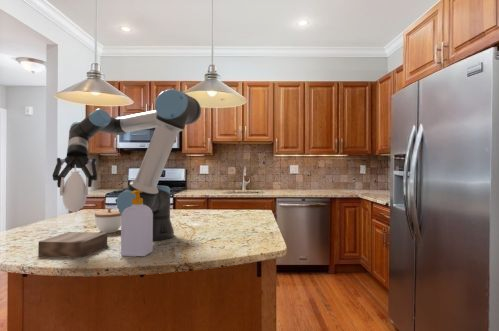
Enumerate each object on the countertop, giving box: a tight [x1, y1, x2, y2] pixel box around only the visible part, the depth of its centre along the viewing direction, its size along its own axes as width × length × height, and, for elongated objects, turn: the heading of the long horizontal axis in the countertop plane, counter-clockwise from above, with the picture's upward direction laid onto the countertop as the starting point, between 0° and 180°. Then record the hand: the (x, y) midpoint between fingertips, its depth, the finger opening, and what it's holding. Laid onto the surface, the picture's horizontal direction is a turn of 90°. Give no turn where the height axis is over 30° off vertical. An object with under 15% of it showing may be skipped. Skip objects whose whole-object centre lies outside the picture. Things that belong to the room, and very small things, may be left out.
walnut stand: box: [37, 231, 108, 258], centre depth 112 cm, size 16×16×5 cm
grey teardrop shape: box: [62, 164, 88, 213], centre depth 112 cm, size 8×8×18 cm
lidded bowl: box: [94, 208, 121, 234], centre depth 145 cm, size 13×13×11 cm
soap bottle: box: [120, 190, 154, 257], centre depth 108 cm, size 9×7×23 cm
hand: (74, 192), depth 109 cm, fingers closed on grey teardrop shape, 7 cm apart
